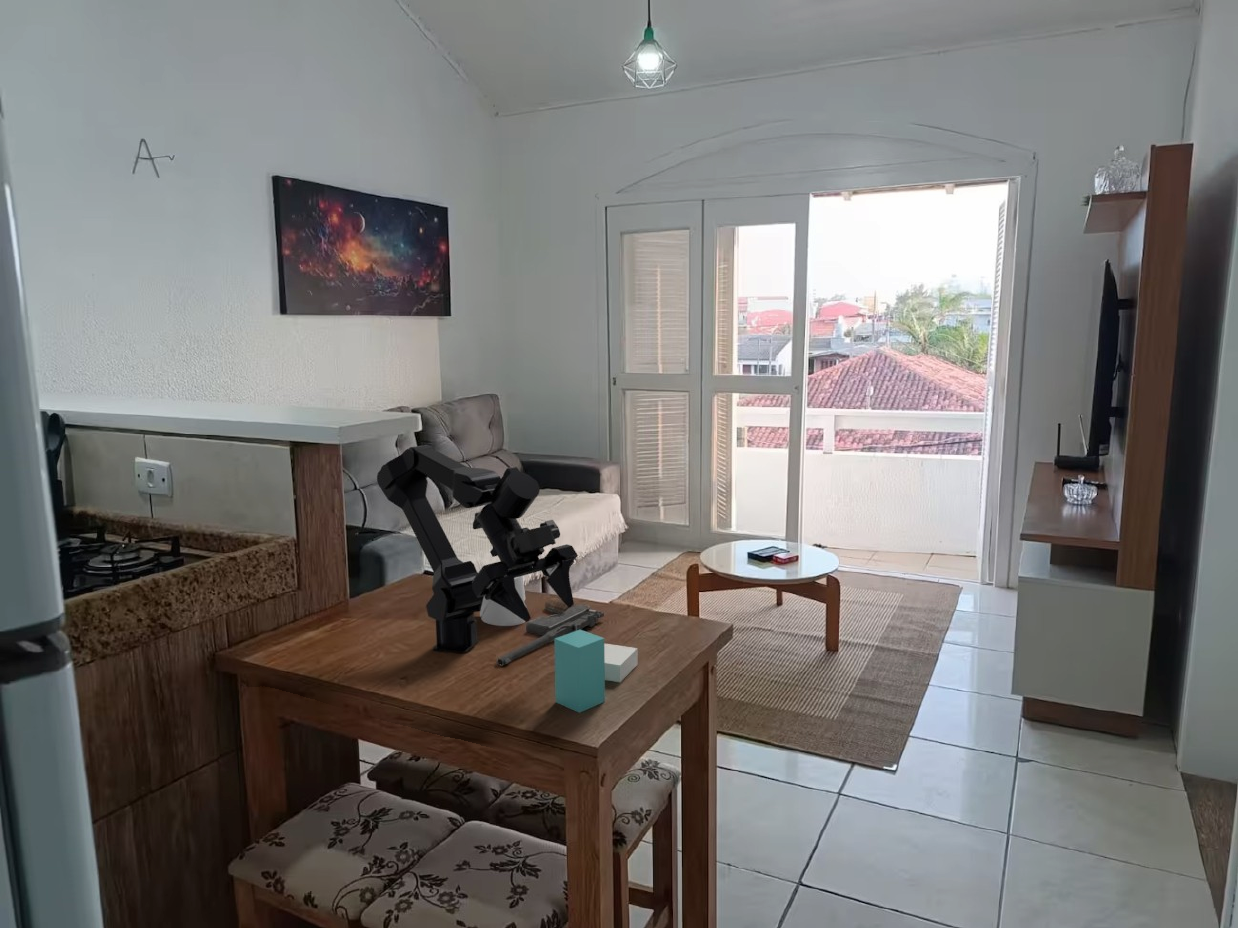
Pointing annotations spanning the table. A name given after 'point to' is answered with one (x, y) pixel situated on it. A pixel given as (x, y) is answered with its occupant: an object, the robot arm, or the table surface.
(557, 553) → the robot arm
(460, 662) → the table surface
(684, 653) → the table surface
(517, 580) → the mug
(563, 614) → the firearm
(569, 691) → the tall brick
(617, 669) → the base brick
